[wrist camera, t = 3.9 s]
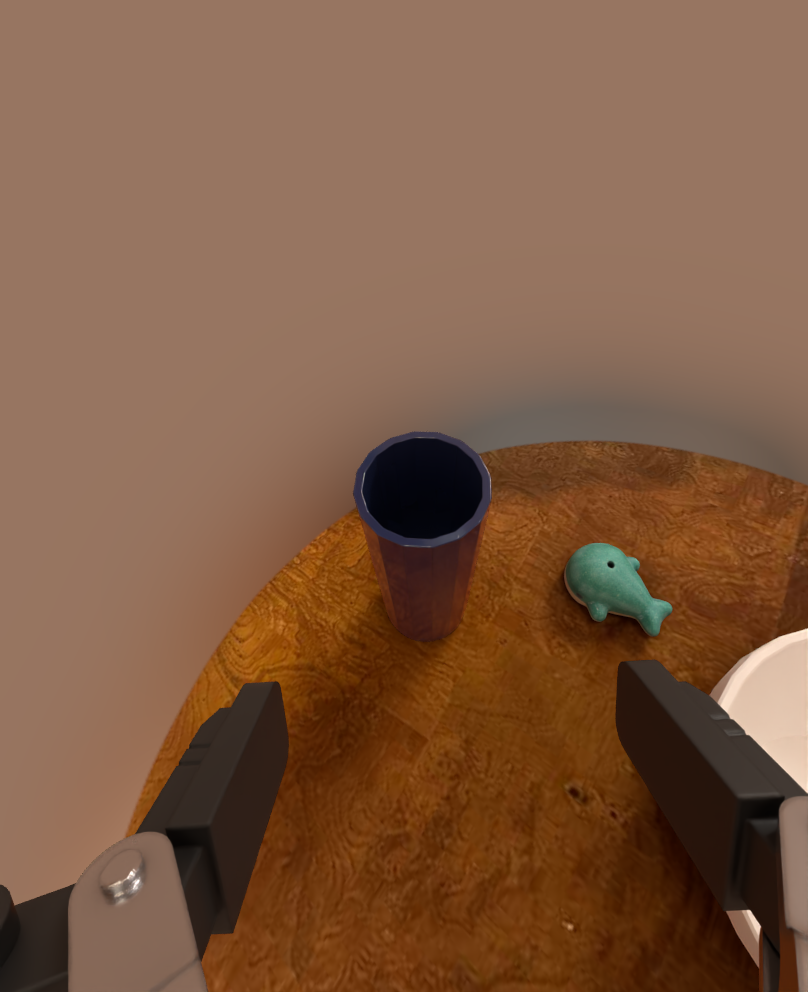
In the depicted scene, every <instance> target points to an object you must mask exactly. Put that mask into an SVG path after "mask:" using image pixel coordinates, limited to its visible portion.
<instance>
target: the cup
mask: <svg viewBox="0 0 808 992" xmlns="http://www.w3.org/2000/svg"><path fill="white" fill-rule="evenodd" d="M353 496H354V499H355V503H356V506H357V510H358V513H359V517H360V520H361V524H362V527H363V531H364V534H365V538H366V541H367V545H368V549H369V552H370V556H371V559H372V563H373V566H374V570H375V573H376V577H377V580H378V584H379V587H380V591H381V594H382V598H383V601H384V605H385V608H386V611H387V615H388V618H389V619H390V621H391V623H392V624H393V626H394V627H395V628H396V629H397V630H398V631H399V632H400V633H401V634H403V635H404V636H406V637H408V638H410V639H413V640H416V641H422V642H429V641H435V640H439V639H442V638H444V637H446V636H447V635H449V634H450V633H452V632H453V631H454V630H455V629H456V628H457V626H458V625H459V624H460V622H461V620H462V618H463V616H464V612H465V610H466V607H467V603H468V598H469V594H470V590H471V586H472V581H473V577H474V573H475V568H476V564H477V560H478V555H479V551H480V547H481V543H482V538H483V534H484V530H485V525H486V521H487V517H488V512H489V508H490V504H491V499H492V494H491V476H490V474H489V472H488V470H487V468H486V466H485V464H484V462H483V460H482V458H481V457H480V455H479V454H477V453H476V452H475V451H474V450H472V449H471V448H470V447H469V446H468V445H466V444H465V443H464V442H463V441H461V440H459V439H456V438H453V437H450V436H447V435H445V434H442V433H438V432H410V433H407V434H403V435H399V436H396V437H392V438H390V439H388V440H386V441H385V442H384V443H382V444H381V445H379V446H378V447H376V448H375V449H373V450H372V451H371V452H370V453H369V454H368V455H367V457H366V458H365V460H364V461H363V463H362V464H361V466H360V467H359V469H358V471H357V473H356V479H355V485H354V491H353Z"/></svg>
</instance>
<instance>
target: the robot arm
mask: <svg viewBox="0 0 808 992" xmlns="http://www.w3.org/2000/svg"><path fill="white" fill-rule="evenodd" d="M616 727H617V732H618V735H619V739H620V741H621V744H622V746H623V748H624V750H625V751H626V753H627V755H628V756H629V758H630V760H631V761H632V763H633V764H634V766H635V768H636V769H637V771H638V773H639V774H640V776H641V777H642V779H643V781H644V782H645V784H646V786H647V787H648V789H649V791H650V792H651V794H652V795H653V797H654V799H655V800H656V802H657V804H658V805H659V807H660V809H661V810H662V812H663V813H664V815H665V817H666V818H667V820H668V822H669V823H670V825H671V826H672V828H673V830H674V831H675V833H676V835H677V836H678V838H679V840H680V841H681V843H682V844H683V846H684V848H685V849H686V851H687V853H688V854H689V856H690V858H691V859H692V861H693V862H694V864H695V866H696V867H697V869H698V871H699V872H700V874H701V875H702V877H703V879H704V880H705V882H706V884H707V885H708V887H709V889H710V890H711V892H712V893H713V895H714V897H715V898H716V900H717V902H718V903H719V905H720V907H721V908H722V910H723V911H739V910H750V911H751V912H752V914H753V915H754V917H755V918H756V920H757V921H758V923H759V924H760V926H761V928H760V934H759V992H808V793H807V792H806V791H805V790H804V789H803V788H802V787H801V786H800V785H799V784H798V783H797V782H796V781H795V780H794V779H793V778H792V777H791V776H790V775H789V774H788V773H787V772H786V771H785V770H784V769H783V768H782V767H781V766H780V765H779V764H778V763H777V762H776V761H775V760H774V759H773V758H772V757H771V756H770V755H769V754H768V753H767V752H766V751H765V750H764V749H763V748H762V747H761V746H760V745H759V744H758V743H757V742H756V741H755V740H754V739H753V738H752V737H751V736H750V735H746V733H745V730H744V729H743V728H742V727H741V726H740V725H739V724H738V723H737V722H736V721H735V720H734V719H730V717H729V714H728V713H727V712H726V711H725V710H724V709H723V708H722V707H721V706H720V705H719V704H718V703H717V702H716V701H715V700H714V699H713V698H712V697H711V696H709V695H707V694H706V693H704V692H702V691H701V690H699V689H697V688H696V687H694V686H692V685H691V684H689V683H687V682H678V681H677V680H676V679H675V678H674V677H673V676H672V675H671V674H670V673H669V672H668V671H667V670H666V669H665V667H664V666H663V665H662V664H661V663H660V662H658V661H657V660H641V661H625V662H621V663H620V664H619V667H618V677H617V697H616ZM288 747H289V740H288V731H287V725H286V718H285V712H284V705H283V699H282V693H281V687H280V685H279V683H278V682H262V683H246V684H244V685H243V687H242V688H241V690H240V692H239V694H238V696H237V697H236V699H235V701H234V703H233V705H232V706H231V708H220V709H219V710H218V711H217V712H216V713H214V714H213V715H212V716H211V717H210V718H209V719H208V720H207V721H206V722H205V723H203V724H202V725H201V727H200V728H199V730H198V732H197V733H196V735H195V737H194V738H193V740H192V742H191V743H190V745H189V749H187V750H186V751H185V753H184V755H183V756H182V758H181V760H180V761H179V766H176V768H175V769H174V771H173V773H172V774H171V776H170V778H169V779H168V781H167V783H166V784H165V786H164V788H163V789H162V791H161V792H160V794H159V796H158V797H157V799H156V801H155V802H154V804H153V806H152V807H151V809H150V811H149V812H148V814H147V815H146V817H145V819H144V820H143V822H142V824H141V825H140V827H139V829H138V830H137V832H136V833H135V835H132V836H129V837H127V838H125V839H123V840H121V841H119V842H117V843H116V844H114V845H113V846H111V847H109V848H108V849H107V850H105V851H104V852H103V853H102V854H101V855H99V856H98V857H97V858H96V859H95V860H94V861H93V862H92V863H91V864H90V865H89V866H88V867H87V868H86V870H85V871H84V872H83V873H82V875H81V876H80V878H79V879H78V881H77V883H75V884H73V885H70V886H68V887H65V888H62V889H60V890H57V891H54V892H51V893H48V894H46V895H43V896H40V897H37V898H35V899H32V900H29V901H26V902H23V903H21V904H18V905H15V906H14V903H13V900H12V897H11V895H10V892H9V891H8V889H7V888H6V887H4V886H3V885H0V992H208V989H207V985H206V981H205V977H204V973H203V969H202V965H201V961H202V958H203V955H204V953H205V950H206V947H207V944H208V941H209V939H210V936H211V934H227V933H233V931H234V928H235V925H236V922H237V919H238V916H239V912H240V909H241V906H242V903H243V900H244V897H245V894H246V890H247V887H248V884H249V881H250V878H251V875H252V871H253V868H254V865H255V862H256V859H257V856H258V853H259V849H260V846H261V843H262V840H263V837H264V834H265V830H266V827H267V824H268V821H269V818H270V815H271V812H272V808H273V805H274V802H275V799H276V796H277V793H278V790H279V786H280V783H281V780H282V777H283V774H284V771H285V767H286V763H287V758H288Z"/></svg>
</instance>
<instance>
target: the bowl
mask: <svg viewBox="0 0 808 992" xmlns="http://www.w3.org/2000/svg"><path fill="white" fill-rule="evenodd" d="M710 696H711V697H712V698H713V699H714V700H715V701H716V702H717V703H718V704H719V705H720V706H721V707H722V708H723V709H724V710H725V711H726V712H727V713H728V714H729V717H730V719H734V720H735V721H736V722H737V723H738V724H739V725H740V726H741V727H742V728H743V729H744V730H745V733H746V735H750V736H751V737H752V738H753V739H754V740H755V741H756V742H757V743H758V744H759V745H760V746H761V747H762V748H763V749H764V750H765V751H766V752H767V753H768V754H769V755H770V756H771V757H772V758H773V759H774V760H775V761H776V762H777V763H778V764H779V765H780V766H781V767H782V768H783V769H784V770H785V771H786V772H787V773H788V774H789V775H790V776H791V777H792V778H793V779H794V780H795V781H796V782H797V783H798V784H799V785H800V786H801V787H802V788H803V789H804V790H805V791H806V792H807V793H808V629H805V630H802V631H798V632H795V633H791V634H787V635H784V636H780V637H778V638H776V639H774V640H772V641H770V642H768V643H766V644H765V645H763V646H761V647H760V648H758V649H756V650H755V651H753V652H751V653H749V654H748V655H746V656H744V657H743V658H741V659H740V660H739V661H738V662H737V663H736V664H735V665H734V666H733V667H732V669H731V670H730V671H729V672H728V673H727V674H726V675H725V676H724V677H723V678H722V679H721V680H720V681H719V682H718V684H717V685H716V686H715V687H714V688H713V690H712V692H711V694H710ZM726 912H727V914H728V916H729V918H730V921H731V923H732V925H733V927H734V929H735V931H736V933H737V935H738V936H739V938H740V940H741V941H742V943H743V944H744V946H745V947H746V949H747V951H748V952H749V954H750V955H751V957H752V958H753V960H754V962H755V963H756V965H757V966H758V968H759V934H760V928H761V926H760V924H759V923H758V921H757V920H756V918H755V917H754V915H753V914H752V912H751V911H750V910H739V911H726Z"/></svg>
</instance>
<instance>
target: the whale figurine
mask: <svg viewBox="0 0 808 992" xmlns="http://www.w3.org/2000/svg"><path fill="white" fill-rule="evenodd" d="M639 567H640V564H639V562H638V560H637V559H635V558H633V557H626V556H625V554H624V553H623V552H622V551H621V550H620V549H618V548H616V547H614V546H612V545H609V544H605V543H593V544H588V545H586V546H583V547H581V548H580V549H578V550H577V551H576V552H575V553H574V554H573V555H572V557H571V558H570V559H569V561H568V563H567V565H566V567H565V571H564V580H565V584H566V587H567V589H568V591H569V593H570V595H571V596H572V597H573V598H574V599H575V600H576V601H577V602H578V603H580V604H582V605H584V606H586V607H587V608H588V611H589V613H590V615H591V617H592V619H593V620H595V621H598V622H601V621H603V620H605V618H606V615H607V613H612V614H616V615H621V616H626V617H632V618H634V619H636V620H637V621H638V622H639V624H640V625H641V627H642V628H643V630H644V631H645V632H646V633H647V634H648V635H649V636H657V635H658V634H659V631H660V625H661V623H662V621H663V619H664V618H665V617H667V616H668V615H670V614H671V612H672V606H671V605H670V604H669V603H668V602H665V601H662V600H659V599H654V598H652V597H651V596H650V594H649V592H648V590H647V589H646V587H645V585H644V583H643V582H642V580H641V578H640V577H639V575H638V574H637V572H636V571H637V570H638V569H639Z"/></svg>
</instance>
